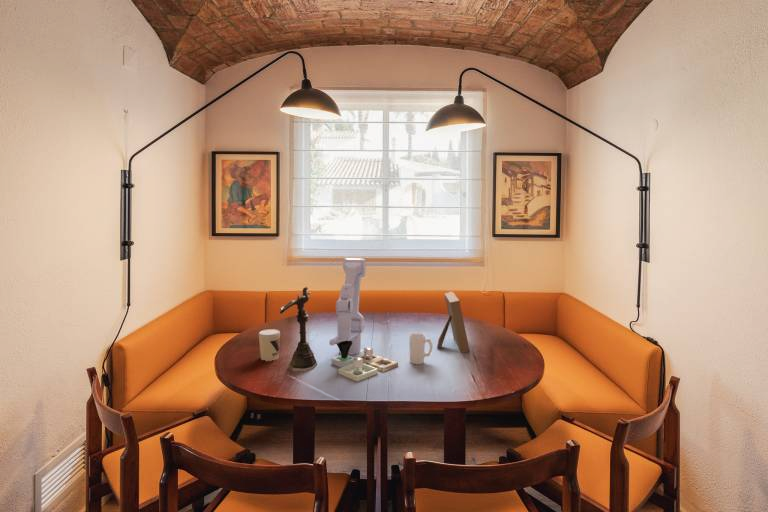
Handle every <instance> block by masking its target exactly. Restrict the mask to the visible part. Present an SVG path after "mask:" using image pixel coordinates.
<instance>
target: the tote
mask: <svg viewBox="0 0 768 512" xmlns="http://www.w3.org/2000/svg"><path fill="white" fill-rule="evenodd" d="M378 373H379V370H378V369H377V368H374V367H372V366H369V365H366V364H364V363H363V374H361V375H354V374H353V364H351V365H348V366H345V367H342V368H341V367H339V368H338V375H342V376H343V377H346V378H348V379H350V380H353V381H355V382H360V381H362V380H364V379H367V378H369V377H373V376H374V375H377V374H378Z"/></svg>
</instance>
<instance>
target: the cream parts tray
mask: <svg viewBox="0 0 768 512" xmlns="http://www.w3.org/2000/svg"><path fill="white" fill-rule="evenodd" d="M354 357H355V358H356V357H361V358H363V363H364V364H366V365H369V366H372V367H374V368H377V369H378V371H380V372H382V373H384V372H386V371H389V370H391V369H394V368H396V367H398V366H399V362H398V361H394V360H391V359H388V358H386V357H382V356H380V355H378V354H374V353H373V359H371V360H365V359H364V353H363V354H359V355H355V356H354ZM383 364H385V365H383Z"/></svg>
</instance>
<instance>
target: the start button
mask: <svg viewBox="0 0 768 512" xmlns="http://www.w3.org/2000/svg"><path fill="white" fill-rule="evenodd" d="M349 356H350V355H349ZM349 356H347V358H345V359H344V358H342V357H339V360H341V361H346V360H349Z"/></svg>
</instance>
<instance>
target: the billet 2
mask: <svg viewBox="0 0 768 512" xmlns="http://www.w3.org/2000/svg"><path fill="white" fill-rule="evenodd" d="M363 350H364V351H363V354H364V359H365V360H371V359H373V354H374V348H373V347H370V346H367V347H363Z"/></svg>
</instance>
